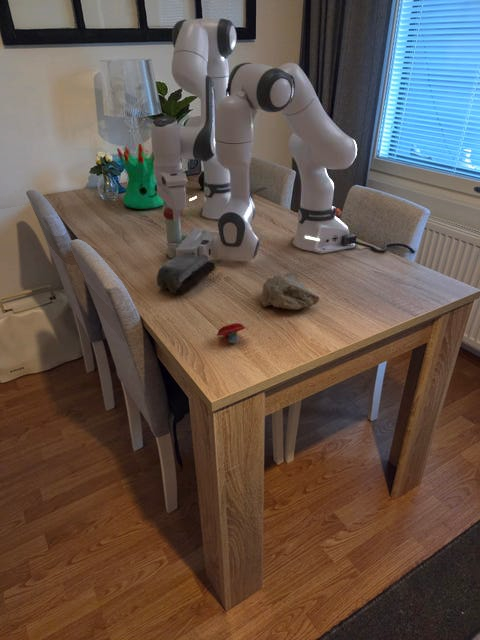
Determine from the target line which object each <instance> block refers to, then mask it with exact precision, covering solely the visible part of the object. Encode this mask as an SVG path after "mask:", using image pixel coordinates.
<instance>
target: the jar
mask: <svg viewBox="0 0 480 640" xmlns="http://www.w3.org/2000/svg"><path fill="white" fill-rule="evenodd" d="M164 219H165V230H166V231H165V233H166V243H167V245H168V244H169V243H170V242H175V244H181V243H182V236H181V235H182V223H181V217H179V222H174V221H173V219H168V218H165V217H164ZM167 254H168V258H170V259H173V258H175V257H176V250H175V249H170V248H169V247H168V246H167Z"/></svg>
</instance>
